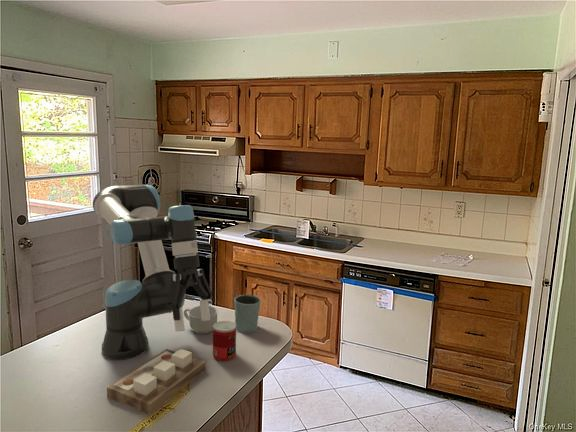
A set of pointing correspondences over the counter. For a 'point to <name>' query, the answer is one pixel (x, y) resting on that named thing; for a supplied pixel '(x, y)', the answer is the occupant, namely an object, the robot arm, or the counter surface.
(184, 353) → the button
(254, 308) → the blue-green cup
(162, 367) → the button middle
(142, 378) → the button
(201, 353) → the counter surface
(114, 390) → the button board
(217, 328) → the canned food
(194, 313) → the teacup
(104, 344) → the robot arm
